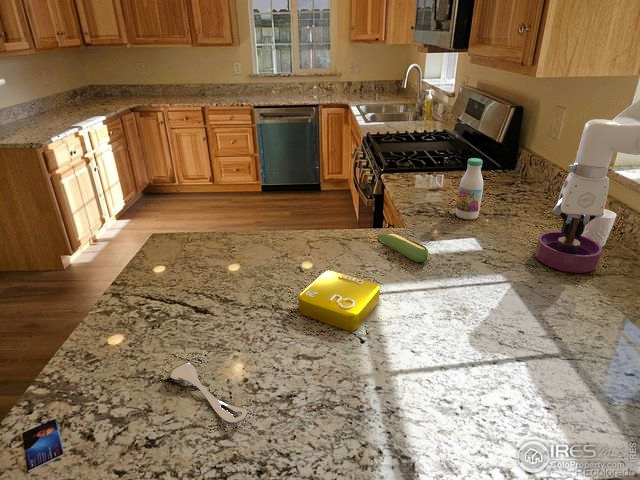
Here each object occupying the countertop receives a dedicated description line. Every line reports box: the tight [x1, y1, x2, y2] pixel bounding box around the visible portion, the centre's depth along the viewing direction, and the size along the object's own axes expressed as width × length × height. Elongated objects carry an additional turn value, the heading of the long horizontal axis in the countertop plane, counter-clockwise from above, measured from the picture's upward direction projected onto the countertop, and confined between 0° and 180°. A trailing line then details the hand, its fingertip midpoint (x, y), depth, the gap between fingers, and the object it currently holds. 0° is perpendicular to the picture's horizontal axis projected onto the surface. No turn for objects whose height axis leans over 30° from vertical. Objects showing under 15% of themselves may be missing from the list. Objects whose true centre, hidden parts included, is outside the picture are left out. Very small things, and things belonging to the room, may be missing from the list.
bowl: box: [534, 230, 603, 274], centre depth 118 cm, size 15×15×6 cm
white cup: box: [581, 208, 617, 248], centre depth 127 cm, size 8×8×10 cm
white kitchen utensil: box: [168, 361, 248, 424], centre depth 74 cm, size 20×4×5 cm
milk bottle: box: [455, 157, 484, 220], centre depth 144 cm, size 8×8×20 cm
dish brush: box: [556, 214, 581, 255], centre depth 115 cm, size 5×5×10 cm
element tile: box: [298, 270, 381, 332], centre depth 99 cm, size 15×15×5 cm
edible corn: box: [376, 232, 431, 263], centre depth 123 cm, size 5×20×5 cm, turn 35°
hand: (570, 235), depth 116 cm, fingers closed on dish brush
